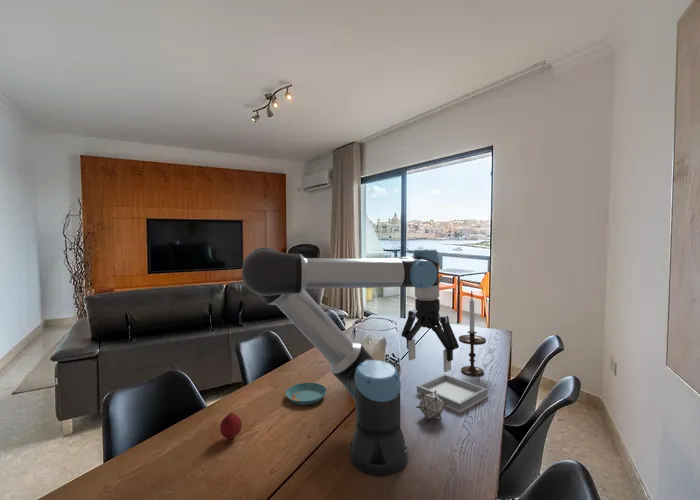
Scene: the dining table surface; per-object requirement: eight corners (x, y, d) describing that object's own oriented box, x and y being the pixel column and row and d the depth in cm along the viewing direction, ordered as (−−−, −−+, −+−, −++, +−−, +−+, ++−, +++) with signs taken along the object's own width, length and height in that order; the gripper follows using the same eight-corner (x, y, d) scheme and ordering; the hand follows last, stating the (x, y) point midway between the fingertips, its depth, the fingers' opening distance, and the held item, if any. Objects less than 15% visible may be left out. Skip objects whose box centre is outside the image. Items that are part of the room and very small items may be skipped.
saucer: (277, 399, 121) (277, 392, 121) (309, 385, 132) (308, 379, 132) (303, 413, 111) (303, 405, 111) (335, 397, 122) (335, 390, 122)
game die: (437, 432, 105) (448, 416, 99) (411, 420, 107) (420, 404, 101) (441, 407, 112) (451, 391, 106) (416, 396, 114) (425, 379, 108)
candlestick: (481, 379, 135) (481, 292, 134) (455, 373, 142) (454, 290, 141) (489, 370, 144) (488, 289, 143) (463, 365, 150) (463, 287, 149)
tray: (460, 412, 109) (459, 403, 109) (416, 393, 123) (416, 385, 123) (487, 397, 120) (487, 388, 120) (444, 381, 134) (444, 373, 134)
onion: (229, 447, 93) (228, 418, 93) (216, 441, 96) (215, 413, 96) (246, 436, 98) (245, 409, 98) (233, 431, 101) (232, 404, 101)
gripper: (469, 301, 99) (471, 372, 99) (404, 292, 118) (406, 352, 118) (455, 304, 94) (457, 379, 94) (389, 295, 113) (391, 357, 114)
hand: (428, 364), depth 106 cm, fingers open, 13 cm apart
